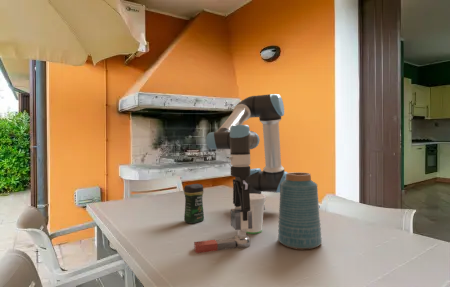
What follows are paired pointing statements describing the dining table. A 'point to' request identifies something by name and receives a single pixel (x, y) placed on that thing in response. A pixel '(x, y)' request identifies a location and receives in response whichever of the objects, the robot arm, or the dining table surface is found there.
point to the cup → (256, 212)
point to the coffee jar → (193, 203)
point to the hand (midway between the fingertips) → (241, 225)
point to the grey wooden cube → (239, 219)
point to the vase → (299, 212)
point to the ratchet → (223, 243)
